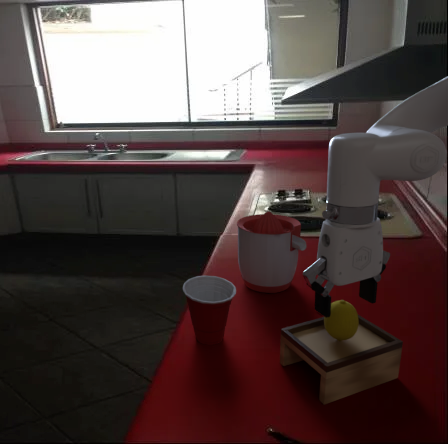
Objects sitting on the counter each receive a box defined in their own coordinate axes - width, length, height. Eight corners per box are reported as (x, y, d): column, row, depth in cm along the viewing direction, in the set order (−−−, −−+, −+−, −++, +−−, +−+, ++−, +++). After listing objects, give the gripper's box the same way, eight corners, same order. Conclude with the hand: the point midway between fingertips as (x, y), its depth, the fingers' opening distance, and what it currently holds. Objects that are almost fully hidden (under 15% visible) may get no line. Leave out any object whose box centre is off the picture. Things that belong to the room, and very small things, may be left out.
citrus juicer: (291, 306, 98) (294, 225, 92) (225, 288, 109) (225, 215, 103) (313, 280, 110) (317, 208, 104) (252, 267, 120) (253, 200, 114)
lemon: (327, 328, 78) (330, 290, 75) (359, 337, 75) (363, 297, 72) (318, 343, 74) (321, 303, 71) (352, 353, 70) (356, 311, 68)
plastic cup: (215, 360, 81) (215, 305, 77) (174, 340, 88) (171, 288, 84) (246, 335, 88) (246, 283, 84) (205, 318, 95) (204, 270, 92)
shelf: (346, 341, 84) (349, 309, 82) (398, 377, 73) (403, 341, 71) (279, 362, 79) (280, 328, 77) (324, 404, 68) (326, 366, 66)
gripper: (323, 228, 61) (319, 330, 66) (412, 208, 66) (401, 304, 71) (291, 215, 67) (289, 309, 73) (374, 198, 73) (366, 286, 78)
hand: (345, 306), depth 72 cm, fingers open, 9 cm apart
